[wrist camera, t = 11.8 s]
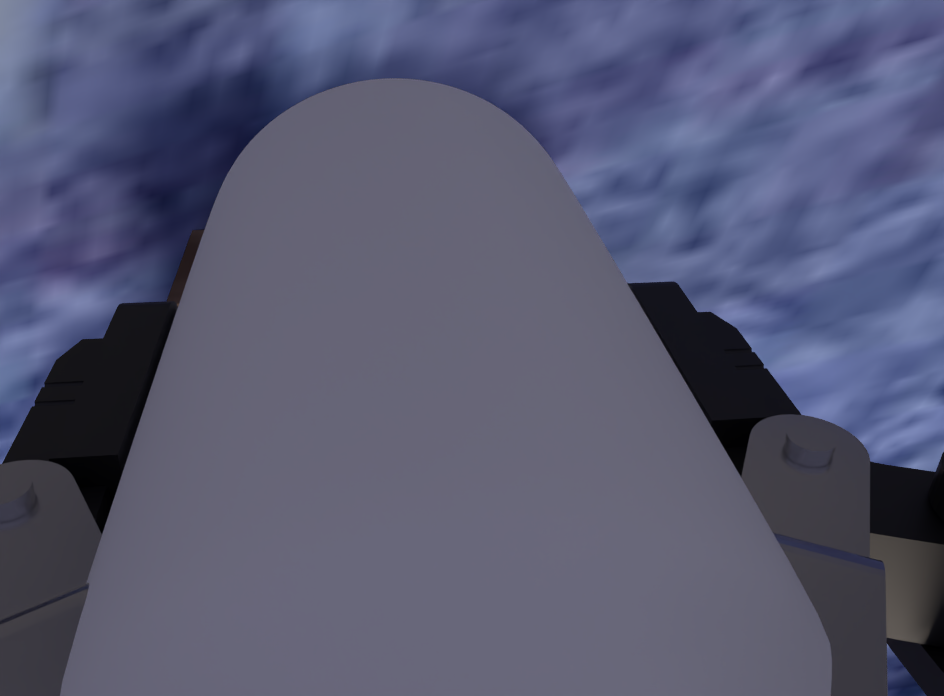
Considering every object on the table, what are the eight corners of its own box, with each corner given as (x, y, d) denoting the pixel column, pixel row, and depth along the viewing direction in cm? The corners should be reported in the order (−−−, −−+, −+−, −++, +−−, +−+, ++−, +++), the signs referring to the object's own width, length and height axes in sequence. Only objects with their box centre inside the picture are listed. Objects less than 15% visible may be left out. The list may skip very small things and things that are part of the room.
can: (158, 329, 16) (-164, 1229, 6) (296, -6, 13) (140, 584, 3) (469, 440, 18) (622, 1233, 8) (640, 171, 16) (1191, 852, 5)
